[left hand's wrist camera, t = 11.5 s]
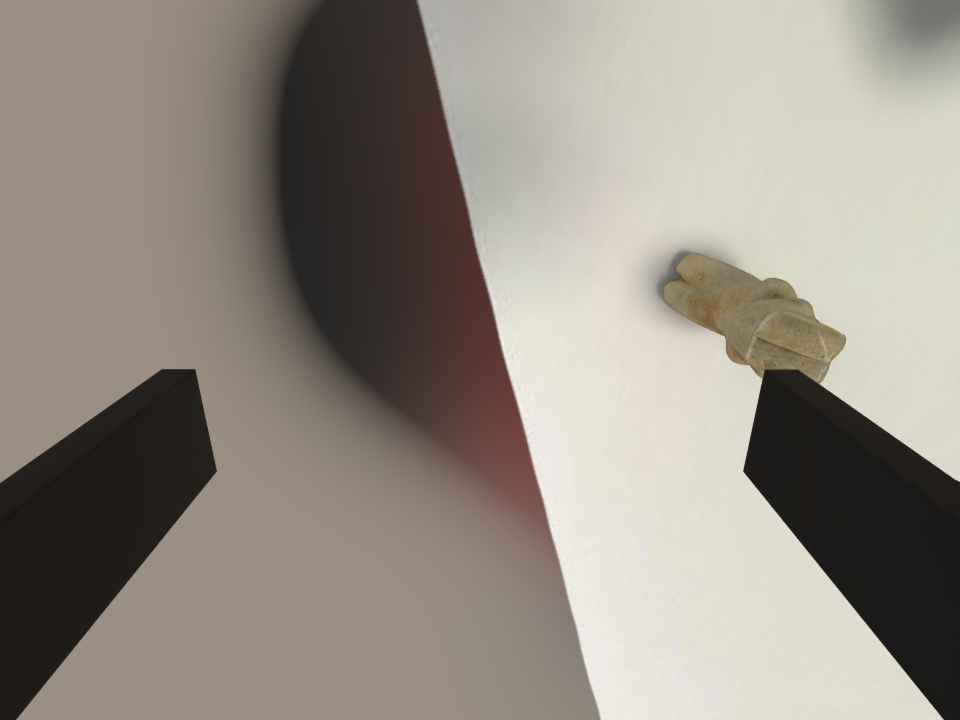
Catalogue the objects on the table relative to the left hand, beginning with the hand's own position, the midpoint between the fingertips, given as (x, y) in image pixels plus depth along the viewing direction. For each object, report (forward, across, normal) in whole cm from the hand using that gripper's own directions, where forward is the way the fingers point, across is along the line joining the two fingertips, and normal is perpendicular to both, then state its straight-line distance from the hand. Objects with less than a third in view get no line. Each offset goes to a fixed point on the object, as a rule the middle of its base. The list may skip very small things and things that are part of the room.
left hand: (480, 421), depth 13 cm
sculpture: (+31, +18, -4) cm, 36 cm away
